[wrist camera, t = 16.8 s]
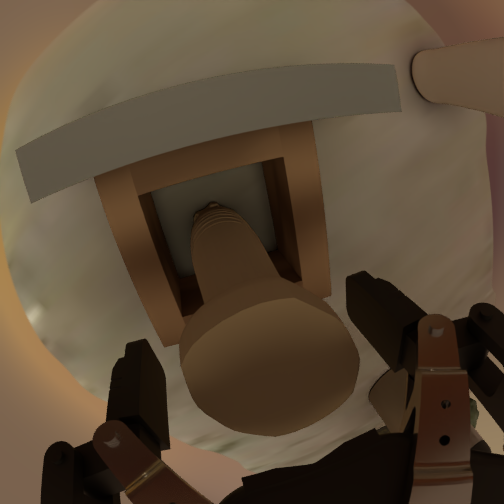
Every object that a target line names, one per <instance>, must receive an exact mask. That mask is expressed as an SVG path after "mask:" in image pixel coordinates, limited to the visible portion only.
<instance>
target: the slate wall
mask: <svg viewBox="0 0 504 504" xmlns="http://www.w3.org/2000/svg"><path fill="white" fill-rule="evenodd" d="M387 112H402V111H401V103H400V96H399V89H398V83H397V77H396V71H395V66H394V65H389V64H364V63H337V64H312V65H297V66H286V67H276V68H267V69H260V70H252V71H246V72H239V73H233V74H228V75H222V76H217V77H212V78H207V79H203V80H198V81H194V82H189V83H185V84H181V85H177V86H173V87H170V88H166V89H162V90H159V91H155V92H152V93H149V94H145V95H142V96H139V97H136V98H133V99H130V100H127V101H124V102H121V103H118V104H115V105H112V106H110V107H107V108H104V109H102V110H99V111H97V112H94V113H92V114H89V115H87V116H84V117H82V118H79V119H77V120H75V121H72V122H70V123H68V124H66V125H64V126H61V127H59V128H57V129H55V130H53V131H51V132H49V133H47V134H45V135H43V136H41V137H39V138H37V139H35V140H33V141H31V142H29V143H27V144H26V145H24V146H22V147H20V148H18V149H17V150H15V151H16V155H17V159H18V162H19V166H20V169H21V173H22V176H23V180H24V183H25V186H26V189H27V192H28V195H29V198H30V201H31V203H33V202H36V201H38V200H40V199H42V198H44V197H46V196H49V195H51V194H53V193H56V192H58V191H60V190H62V189H65V188H67V187H70V186H72V185H74V184H77V183H79V182H82V181H84V180H87V179H89V178H92V177H95V176H97V175H100V174H103V173H105V172H108V171H111V170H113V169H116V168H119V167H122V166H125V165H128V164H131V163H134V162H137V161H140V160H143V159H146V158H149V157H152V156H156V155H159V154H162V153H165V152H169V151H172V150H176V149H179V148H183V147H186V146H190V145H194V144H198V143H201V142H205V141H209V140H213V139H217V138H222V137H226V136H230V135H235V134H239V133H244V132H249V131H253V130H258V129H263V128H269V127H274V126H280V125H285V124H291V123H297V122H304V121H311V120H318V119H325V118H333V117H341V116H351V115H361V114H373V113H387Z"/></svg>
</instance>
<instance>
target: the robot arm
mask: <svg viewBox="0 0 504 504" xmlns="http://www.w3.org/2000/svg"><path fill="white" fill-rule="evenodd" d="M346 307H347V312H348V315H349V318H350V319H351V321H352V322H353V323H354V325H355V326H356V327H357V328H358V329H359V331H360V332H361V333H362V334H363V335H364V337H365V338H366V339H367V340H368V341H369V343H370V344H371V345H372V346H373V347H374V349H375V350H376V351H377V352H378V353H379V355H380V356H381V357H382V358H383V359H384V361H385V362H386V363H387V364H388V365H389V367H390V368H391V370H390V371H388V372H387V373H386V374H385V375H384V376H382V377H381V379H380V380H379V381H378V382H377V383H376V384H375V385H374V387H373V388H372V390H371V392H370V394H369V401H370V402H371V404H372V405H373V407H374V408H375V410H376V411H377V413H378V414H379V416H380V417H381V419H382V420H383V422H384V423H385V425H386V426H387V428H388V429H389V431H390V432H391V433H385V434H380V435H379V434H378V432H377V431H376V429H375V428H374V429H372V430H370V431H368V432H366V433H364V434H361V435H359V436H357V437H355V438H353V439H351V440H349V441H346V442H344V443H343V444H342V445H340V446H339V447H338V448H336V449H335V450H333V451H332V452H331V453H329V454H328V455H326V456H325V457H323V458H322V459H320V460H319V461H317V462H316V463H313V464H308V465H301V466H293V467H283V468H275V469H271V470H268V471H265V472H261V473H258V474H254V475H250V476H246V477H242V482H243V486H241V487H239V488H237V489H236V490H234V491H233V492H232V493H230V494H229V495H227V496H226V497H225V498H224V499H223V500H222V501H221V502H220V503H219V504H504V455H500V454H494V453H491V449H490V447H489V446H488V445H487V443H486V442H485V441H484V440H483V439H482V437H481V436H480V435H479V434H478V432H477V431H476V430H475V429H474V427H473V426H472V425H471V422H470V398H469V389H470V390H471V391H472V392H473V394H474V395H475V396H476V397H477V399H478V400H479V401H480V402H481V404H483V406H484V407H485V409H486V410H487V411H488V412H489V414H490V415H491V416H492V418H493V419H494V420H495V422H496V423H497V424H498V425H499V427H500V428H501V429H502V431H503V432H504V374H503V373H502V371H501V370H500V369H499V368H498V367H497V366H496V365H495V364H494V363H493V362H492V361H491V360H490V359H489V358H488V357H487V355H488V352H489V351H490V352H491V353H492V354H493V356H495V358H496V359H497V360H498V361H499V362H500V363H501V364H502V365H503V367H504V314H503V313H502V312H501V311H500V310H498V309H497V308H496V307H495V306H493V305H491V304H488V303H477V304H475V305H473V306H472V307H471V309H470V312H469V315H468V317H465V318H462V319H458V320H454V321H451V320H450V319H449V318H447V317H446V316H443V315H440V314H430V315H428V314H427V313H426V312H424V311H423V310H422V309H421V308H420V307H419V306H417V305H416V304H415V303H414V302H413V301H412V300H410V299H409V298H408V297H407V296H405V295H404V294H403V293H402V292H401V291H400V290H399V291H398V289H397V288H396V287H395V286H394V285H393V284H391V283H390V282H388V281H386V280H383V279H380V278H377V279H375V278H373V277H372V276H371V275H370V274H369V273H367V272H366V271H361V272H358V273H355V274H352V275H350V276H347V278H346ZM168 449H170V440H169V426H168V412H167V394H166V377H165V373H164V370H163V368H162V366H161V364H160V362H159V360H158V359H157V357H156V355H155V353H154V352H153V350H152V348H151V346H150V344H149V343H148V341H147V340H146V339H141V340H137V341H133V342H129V343H127V344H126V349H125V356H124V357H123V358H119V359H118V361H117V362H116V364H115V366H114V367H113V369H112V376H111V383H110V390H109V398H108V406H107V415H106V422H105V423H103V424H102V425H100V426H99V427H98V428H97V429H96V431H95V433H94V435H93V440H92V441H90V442H87V443H85V444H82V445H80V446H78V447H75V448H73V447H72V446H71V445H70V444H68V443H67V442H64V441H59V442H55V443H54V444H52V445H51V446H50V447H49V448H48V449H47V451H46V453H45V456H44V463H43V473H42V486H41V504H121V503H120V492H121V491H124V490H126V491H125V494H126V496H127V497H128V498H129V499H130V501H131V502H132V503H133V504H214V503H212V502H211V501H210V500H208V499H207V498H206V497H205V496H203V495H202V494H201V493H199V492H198V491H197V490H195V489H194V488H193V487H192V486H190V485H189V484H188V483H187V482H186V481H185V480H183V479H182V478H181V477H180V476H179V475H178V474H176V473H175V472H174V471H173V470H172V469H171V468H170V467H169V466H168V465H166V464H165V463H164V462H163V461H162V460H161V451H162V450H168ZM503 451H504V445H503Z"/></svg>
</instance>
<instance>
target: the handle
mask: <svg viewBox="0 0 504 504" xmlns="http://www.w3.org/2000/svg"><path fill="white" fill-rule="evenodd" d="M193 221H194V224H193V227H192V231H191V255H192V263H193V267H194V270H195V274H196V277H197V281H198V284H199V287H200V291H201V294H202V297H203V300H204V305H203V306H201V307H200V308H199V309H198V310H197V311H196V312H195V313H194V314H193V315H192V316H191V318H190V319H189V321H188V322H187V324H186V326H185V327H184V329H183V332H182V334H181V337H180V339H179V351H180V363H181V369H182V372H183V375H184V377H185V380H186V383H187V386H188V389H189V391H190V394H191V396H192V398H193V400H194V401H195V403H196V405H197V406H198V407H199V408H200V409H201V410H202V411H203V412H204V413H206V414H207V415H208V416H210V417H211V418H213V419H214V420H216V421H218V422H219V423H221V424H222V425H224V426H226V427H228V428H230V429H232V430H234V431H238V432H242V433H247V434H254V435H263V436H274V437H276V436H281V435H285V434H289V433H292V432H296V431H298V430H300V429H303V428H305V427H308V426H310V425H312V424H313V423H315V422H317V421H319V420H321V419H322V418H324V417H326V416H327V415H329V414H330V413H332V412H333V411H334V410H336V409H337V408H338V407H340V406H341V405H342V404H343V403H344V402H345V401H346V400H347V399H348V398H349V396H350V395H351V394H352V393H353V391H354V387H355V383H356V380H357V375H358V371H359V363H360V358H359V354H358V350H357V348H356V346H355V344H354V342H353V340H352V338H351V335H350V333H349V331H348V330H347V329H346V327H345V326H344V324H343V322H342V321H341V320H340V318H339V317H338V316H337V314H336V313H335V312H334V311H333V310H332V308H331V307H330V306H329V305H328V304H327V303H326V302H325V301H323V300H322V299H320V298H319V297H317V296H316V295H314V294H313V293H311V292H309V291H308V290H306V289H304V288H302V287H300V286H298V285H296V284H294V283H292V282H290V281H288V280H286V279H284V278H281V277H280V276H279V274H278V272H277V270H276V268H275V267H274V265H273V263H272V261H271V259H270V257H269V256H268V254H267V252H266V250H265V248H264V246H263V245H262V243H261V241H260V239H259V237H258V236H257V235H256V233H255V232H254V231H253V230H252V228H251V227H250V226H249V224H248V223H247V222H246V221H245V220H244V219H243V218H242V217H241V216H240V215H238V214H237V213H236V212H235V211H234V210H232V209H228V208H225V207H221V206H220V205H218V204H217V203H216V202H212V203H209V205H208V206H207V207H206V208H205V209H203V210H201V211H197V212H196V214H195V215H194V218H193Z"/></svg>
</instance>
